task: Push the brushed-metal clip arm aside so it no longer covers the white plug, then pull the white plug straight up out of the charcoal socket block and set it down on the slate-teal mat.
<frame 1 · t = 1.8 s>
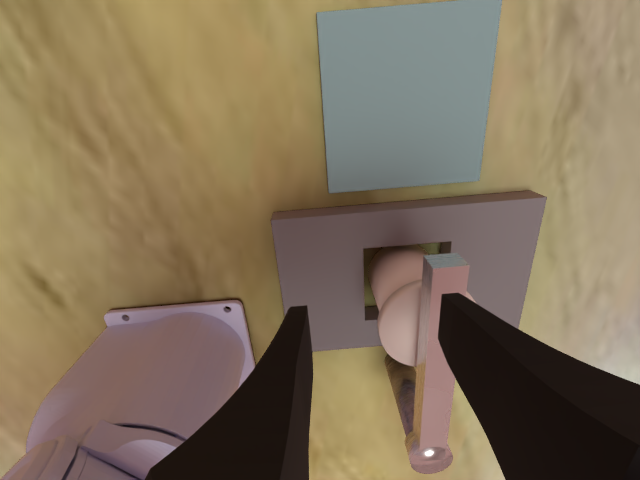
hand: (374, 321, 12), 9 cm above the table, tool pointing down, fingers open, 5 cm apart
clip post: (397, 360, 25), on the table
plug: (399, 271, 22), resting in socket block
mat: (404, 105, 18), on the table
socket block: (399, 271, 22), on the table
clip: (434, 378, 16), point 7 cm above the table, hinge at 0.0°
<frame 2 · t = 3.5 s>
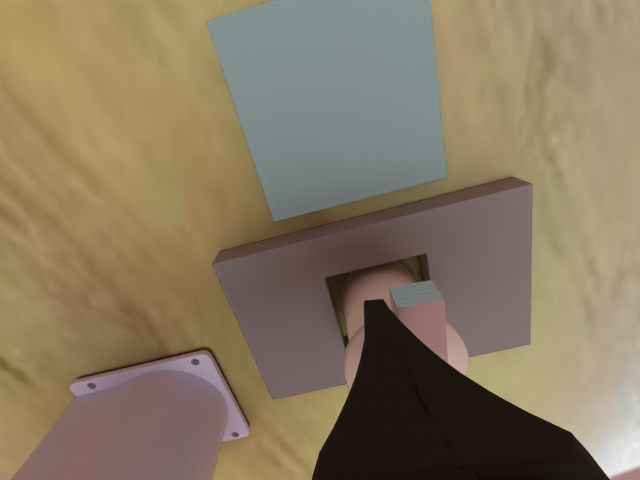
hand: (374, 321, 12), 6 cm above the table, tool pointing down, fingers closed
plug: (378, 292, 19), resting in socket block
mat: (338, 107, 15), on the table
socket block: (378, 292, 19), on the table
clip: (428, 428, 13), point 7 cm above the table, hinge at -2.9°, touching gripper
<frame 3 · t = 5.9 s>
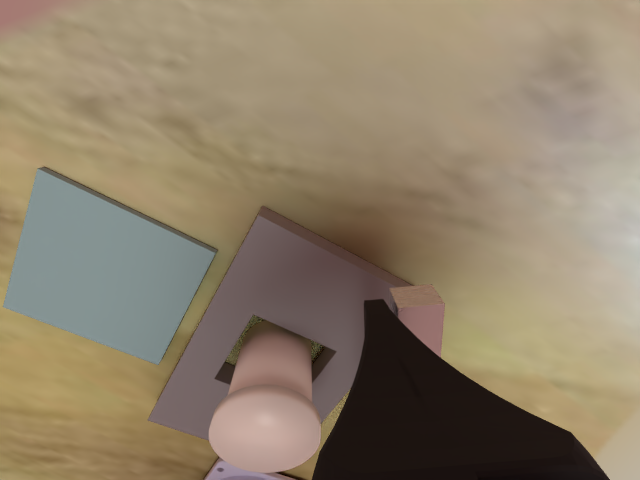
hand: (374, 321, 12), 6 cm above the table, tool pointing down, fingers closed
plug: (277, 347, 20), resting in socket block
mat: (110, 277, 18), on the table
socket block: (276, 347, 20), on the table
clip: (411, 432, 13), point 7 cm above the table, hinge at -54.3°, touching gripper
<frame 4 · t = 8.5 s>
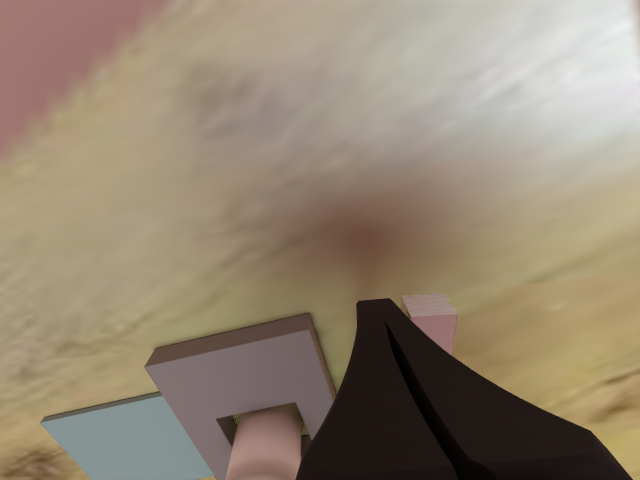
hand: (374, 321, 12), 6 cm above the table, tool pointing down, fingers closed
plug: (270, 416, 23), resting in socket block
mat: (135, 445, 24), on the table
socket block: (270, 416, 23), on the table
clip: (415, 437, 14), point 7 cm above the table, hinge at -100.9°, touching gripper
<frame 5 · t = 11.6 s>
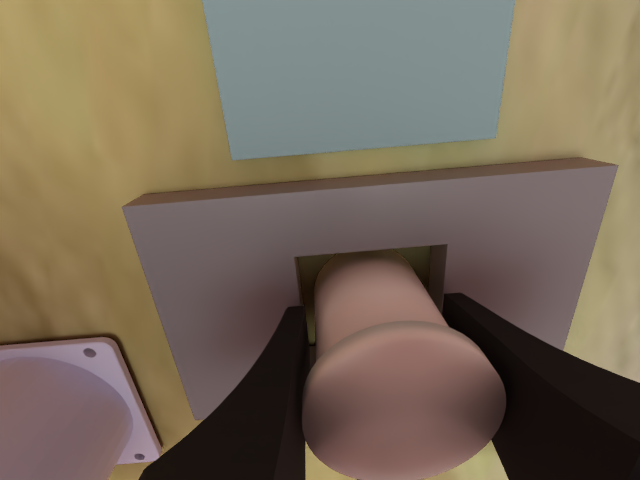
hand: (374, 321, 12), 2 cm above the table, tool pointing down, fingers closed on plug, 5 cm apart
plug: (365, 291, 14), resting in socket block, touching gripper
socket block: (365, 292, 14), on the table
when the fingers open (3 cm above the table, at t = 15.5 s): plug stays where it is, resting on mat.
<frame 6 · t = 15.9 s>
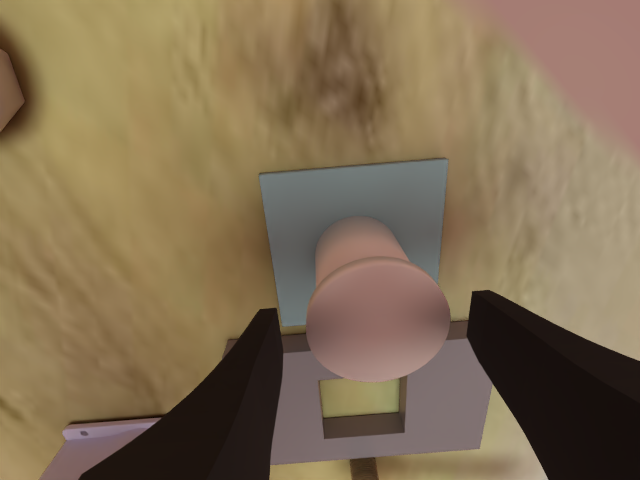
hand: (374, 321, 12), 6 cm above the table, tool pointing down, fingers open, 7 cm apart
clip post: (362, 462, 25), on the table
plug: (356, 254, 17), resting on mat
mat: (355, 248, 17), on the table
socket block: (360, 388, 22), on the table
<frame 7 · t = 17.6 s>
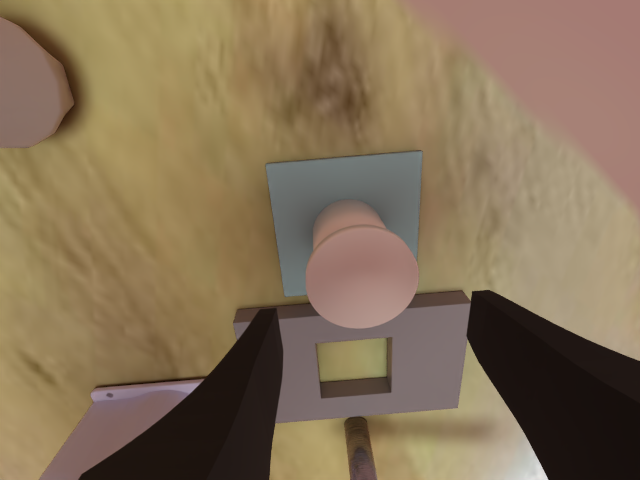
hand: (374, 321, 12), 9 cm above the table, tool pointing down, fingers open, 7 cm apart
clip post: (355, 424, 28), on the table
plug: (347, 232, 20), resting on mat
mat: (346, 228, 20), on the table
socket block: (352, 354, 25), on the table
salt shaker: (35, 84, 17), on the table
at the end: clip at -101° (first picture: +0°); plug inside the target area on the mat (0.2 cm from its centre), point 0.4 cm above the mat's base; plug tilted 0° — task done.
